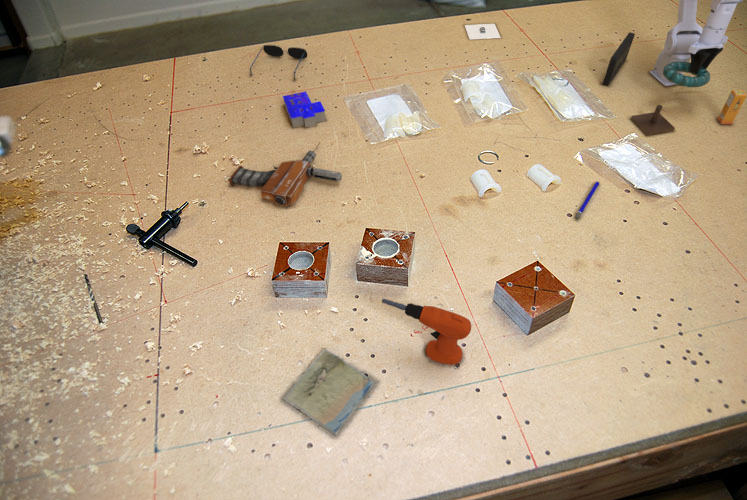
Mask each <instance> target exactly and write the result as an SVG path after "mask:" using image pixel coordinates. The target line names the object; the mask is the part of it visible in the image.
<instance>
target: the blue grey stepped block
mask: <svg viewBox="0 0 747 500" xmlns="http://www.w3.org/2000/svg"><path fill="white" fill-rule="evenodd" d="M282 100H283V104H284V108H285V110H286V112H287V115H288V117H289V120H290V123H291V126H292V128H293V129H294V128H298V127H299V128H300V127H303V126H304V128H311V127H315V126H316V123H320V122H325V121H326V113H325V112H326V109H325V108H324V105H323V104H322V101H321V100H320V101H315V102H312V101H311V98H310V96H309V95H308V92H307V90H306V91H300V92H296V93H291V94H286V95H282Z"/></svg>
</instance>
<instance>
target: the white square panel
mask: <svg viewBox="0 0 747 500" xmlns="http://www.w3.org/2000/svg"><path fill="white" fill-rule="evenodd" d="M464 28H465V30H466V34H467V36H468V39H469V40H470V41H471V40H487V39H488V40H489V39H501V38H502V37H501V35H500V33H499V31H498V28H497V26H496V24H495V23H479V24H464Z"/></svg>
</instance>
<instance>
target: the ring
mask: <svg viewBox="0 0 747 500" xmlns="http://www.w3.org/2000/svg"><path fill="white" fill-rule="evenodd" d="M690 65H691V61H689V62H685V61H675V62H671V63H669V64H667V65H665V67H664V70H663V75H664V77H665V78H666V79H667V80H668V81H670V82H672V83H674V84H677V86H680V87H685V88H701V87H703V86H705V85H707V84H709V82H711V81H710V80H711V73H710V71H709V70H708V69H705V68H704V67H702V66H701V68H700V70H699V71H698V73H697V74H694V73H692V72H690ZM679 71H681V72H684V73H687V74H690V75H692V76H689V75H684V74H683V75H682V74H680V73H677V72H679Z"/></svg>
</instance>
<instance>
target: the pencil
mask: <svg viewBox="0 0 747 500" xmlns="http://www.w3.org/2000/svg"><path fill="white" fill-rule="evenodd" d="M599 185H600V181H599V180H598V181H595V183H594V185H593V186H592V188H591V190H589V192H588V195H587V196H586V198H585V199H584V202H583V203H582V205H581V206H580V208H579V210H577V213H576V215H574V218H575V219H576V220H578V219H580V217H581V215H582V213H583V212H584V210H585V208H586V207H587V205H588V204H589V202H590V201H591V199H592V197H593V195H594V193H595V192H596V190H597V188H598V187H599Z"/></svg>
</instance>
